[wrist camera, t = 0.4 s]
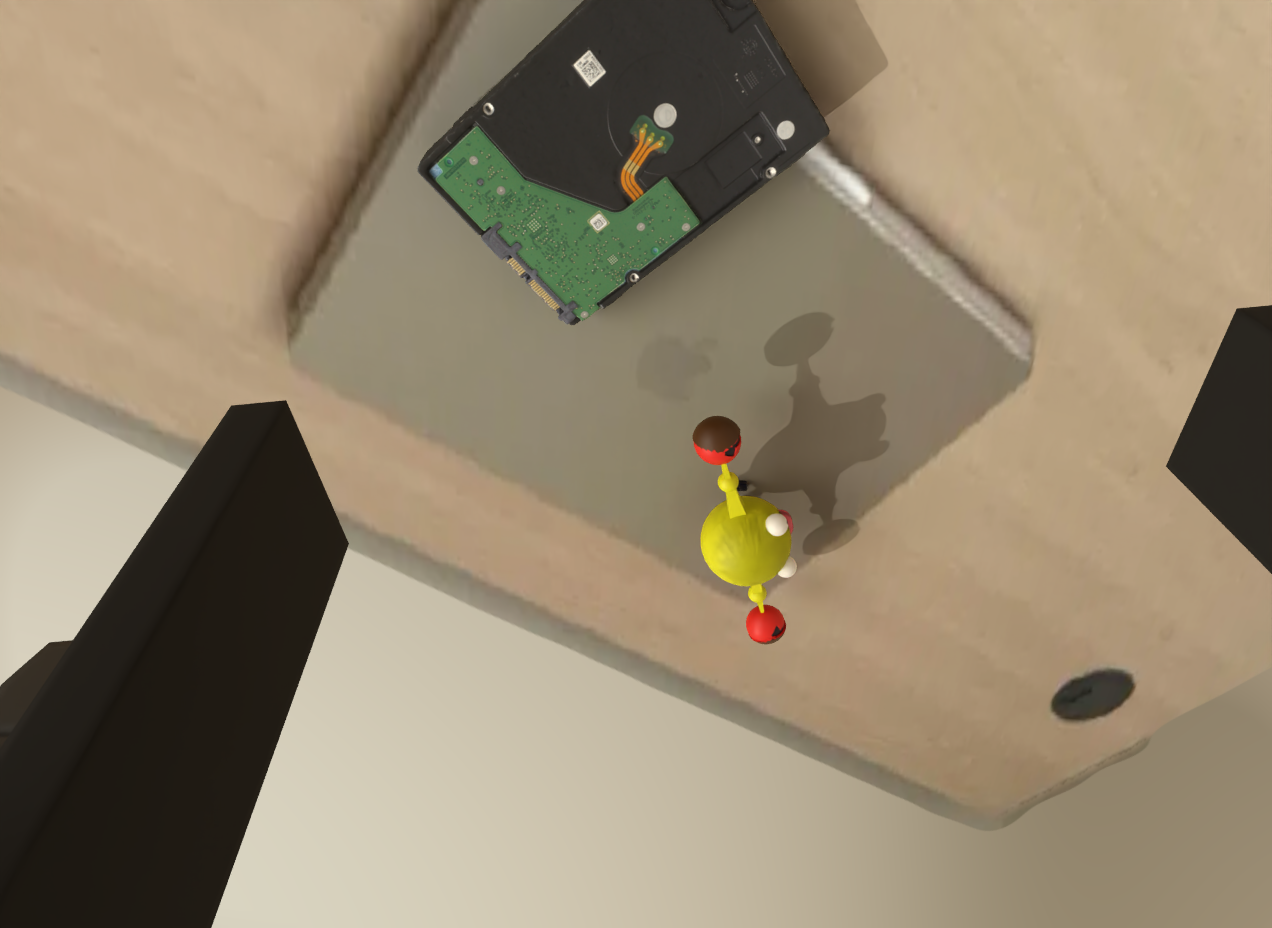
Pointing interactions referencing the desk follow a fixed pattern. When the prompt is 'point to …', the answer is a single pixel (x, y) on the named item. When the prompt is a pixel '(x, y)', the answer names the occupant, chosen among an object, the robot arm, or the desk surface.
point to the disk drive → (623, 143)
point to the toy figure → (744, 531)
